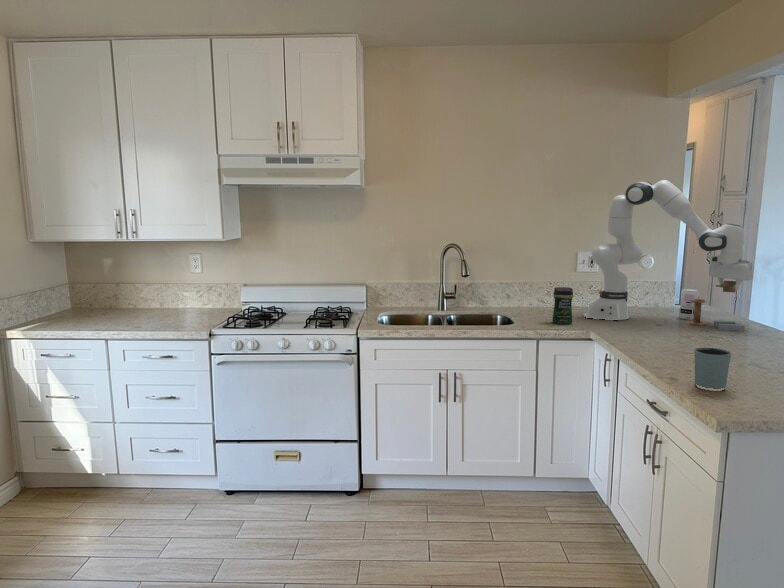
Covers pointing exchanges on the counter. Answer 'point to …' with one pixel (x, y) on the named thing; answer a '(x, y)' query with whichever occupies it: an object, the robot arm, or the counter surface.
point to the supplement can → (688, 303)
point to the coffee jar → (562, 305)
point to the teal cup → (711, 367)
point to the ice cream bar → (728, 286)
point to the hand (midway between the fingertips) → (729, 288)
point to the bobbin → (697, 312)
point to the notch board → (728, 325)
